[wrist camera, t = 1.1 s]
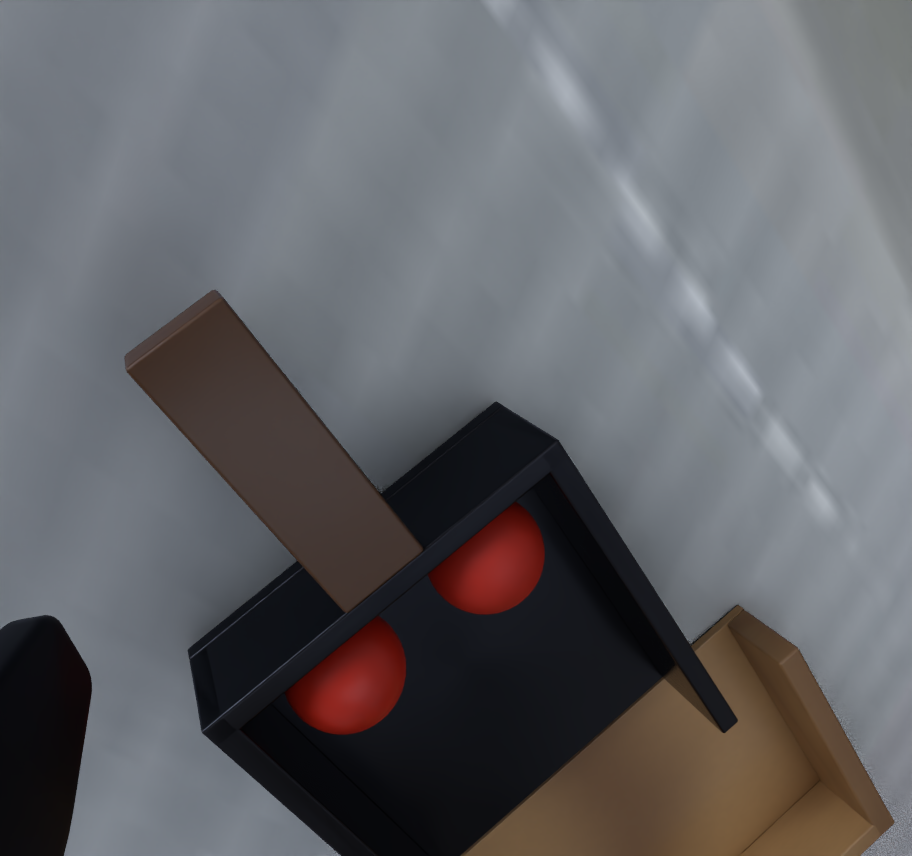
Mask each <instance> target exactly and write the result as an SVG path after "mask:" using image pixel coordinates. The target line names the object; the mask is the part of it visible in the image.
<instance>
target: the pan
mask: <svg viewBox="0 0 912 856" xmlns="http://www.w3.org/2000/svg"><path fill="white" fill-rule="evenodd" d="M125 367H126V371H127V373H128V374H129V375H130V376H131V377H132V378H133V379H134V381H135V382H136V383H137V384H138V385H139V386H140V387H141V388H142V389H143V391H144V392H145V393H146V394H147V395H148V396H149V397H150V398H151V399H152V400H153V402H154V403H155V404H156V405H157V406H158V407H159V408H160V409H161V410H162V412H163V413H164V414H165V415H166V416H167V417H168V418H169V419H170V420H171V421H172V423H173V424H174V425H175V426H176V427H177V428H178V429H179V430H180V431H181V432H182V434H183V435H184V436H185V437H186V438H187V439H188V440H189V441H190V442H191V444H192V445H193V446H194V447H195V448H196V449H197V450H198V451H199V452H200V453H201V455H202V456H203V457H204V458H205V459H206V460H207V461H208V462H209V463H210V465H211V466H212V467H213V468H214V469H215V470H216V471H217V472H218V473H219V474H220V476H221V477H222V478H223V479H224V480H225V481H226V482H227V483H228V484H229V486H230V487H231V488H232V489H233V490H234V491H235V492H236V493H237V494H238V495H239V497H240V498H241V499H242V500H243V501H244V502H245V503H246V504H247V505H248V506H249V508H250V509H251V510H252V511H253V512H254V513H255V514H256V515H257V516H258V518H259V519H260V520H261V521H262V522H263V523H264V524H265V525H266V526H267V527H268V529H269V530H270V531H271V532H272V533H273V534H274V535H275V536H276V537H277V539H278V540H279V541H280V542H281V543H282V544H283V545H284V546H285V547H286V548H287V550H288V551H289V552H290V553H291V554H292V555H293V556H294V557H295V558H296V560H297V562H296V563H294V564H293V565H292V566H291V567H289V568H288V569H287V570H286V571H284V572H283V573H282V574H281V575H280V576H278V577H277V578H276V579H275V580H273V581H272V582H271V583H270V584H268V585H267V586H266V587H265V588H263V589H262V590H261V591H260V592H258V593H257V594H256V595H255V596H253V597H252V598H251V599H250V600H248V601H247V602H246V603H245V604H243V605H242V606H241V607H240V608H239V609H237V610H236V611H235V612H234V613H232V614H231V615H230V616H229V617H227V618H226V619H225V620H224V621H222V622H221V623H220V624H219V625H217V626H216V627H215V628H214V629H212V630H211V631H210V632H209V633H207V634H206V635H205V636H204V637H203V638H201V639H200V640H199V641H198V642H196V643H195V644H194V645H193V646H191V647H190V648H189V649H188V654H189V659H190V666H191V672H192V678H193V683H194V689H195V695H196V701H197V707H198V713H199V719H200V725H201V730H202V733H203V734H204V735H205V736H206V737H208V738H209V739H210V740H211V741H212V742H213V743H214V744H215V745H217V746H218V747H219V748H220V749H221V750H222V751H223V752H224V753H226V754H227V755H228V756H229V757H230V758H231V759H232V760H234V761H235V762H236V763H237V764H238V765H239V766H240V767H241V768H243V769H244V770H245V771H246V772H247V773H248V774H249V775H250V776H252V777H253V778H254V779H255V780H256V781H257V782H258V783H260V784H261V785H262V786H263V787H264V788H265V789H266V790H267V791H269V792H270V793H271V794H272V795H273V796H274V797H275V798H276V799H278V800H279V801H280V802H281V803H282V804H283V805H284V806H286V807H287V808H288V809H289V810H290V811H291V812H292V813H293V814H295V815H296V816H297V817H298V818H299V819H300V820H301V821H302V822H304V823H305V824H306V825H307V826H308V827H309V828H310V829H311V830H313V831H314V832H315V833H316V834H317V835H318V836H319V837H321V838H322V839H323V840H324V841H325V842H326V843H327V844H328V845H330V846H331V847H332V848H333V849H334V850H335V851H336V852H337V853H339V854H340V855H341V856H461V855H462V854H463V853H464V852H465V851H466V850H468V849H469V848H470V847H471V846H472V845H473V844H474V843H475V842H477V841H478V840H479V839H480V838H481V837H482V836H483V835H485V834H486V833H487V832H488V831H489V830H490V829H491V828H492V827H494V826H495V825H496V824H497V823H498V822H499V821H500V820H502V819H503V818H504V817H505V816H506V815H507V814H508V813H509V812H511V811H512V810H513V809H514V808H515V807H516V806H517V805H519V804H520V803H521V802H522V801H523V800H524V799H525V798H526V797H528V796H529V795H530V794H531V793H532V792H533V791H534V790H536V789H537V788H538V787H539V786H540V785H541V784H542V783H543V782H545V781H546V780H547V779H548V778H549V777H550V776H551V775H553V774H554V773H555V772H556V771H557V770H558V769H559V768H560V767H562V766H563V765H564V764H565V763H566V762H567V761H568V760H570V759H571V758H572V757H573V756H574V755H575V754H576V753H577V752H579V751H580V750H581V749H582V748H583V747H584V746H585V745H587V744H588V743H589V742H590V741H591V740H592V739H593V738H594V737H596V736H597V735H598V734H599V733H600V732H601V731H602V730H604V729H605V728H606V727H607V726H608V725H609V724H610V723H611V722H613V721H614V720H615V719H616V718H617V717H618V716H619V715H621V714H622V713H623V712H624V711H625V710H626V709H627V708H628V707H630V706H631V705H632V704H633V703H634V702H635V701H636V700H638V699H639V698H640V697H641V696H642V695H643V694H644V693H645V692H647V691H648V690H649V689H650V688H651V687H652V686H653V685H654V684H656V683H657V682H658V681H659V680H660V679H661V678H662V677H663V678H664V679H665V680H666V681H667V682H668V683H669V684H670V685H671V686H672V687H674V688H675V689H676V690H677V691H678V692H679V693H680V694H681V695H682V696H683V697H684V698H685V699H686V700H688V701H689V702H690V703H691V704H692V705H693V706H694V707H695V708H696V709H697V710H698V711H699V712H700V713H701V714H703V715H704V716H705V717H706V718H707V719H708V720H709V721H710V722H711V723H712V724H713V725H714V726H715V727H717V728H718V729H719V730H720V731H721V732H722V733H726V732H727V731H728V730H729V729H730V728H731V727H733V726H734V725H735V724H736V723H737V722H738V719H737V717H736V715H735V714H734V712H733V711H732V709H731V708H730V706H729V704H728V703H727V701H726V700H725V698H724V697H723V695H722V694H721V692H720V690H719V689H718V687H717V686H716V684H715V683H714V681H713V680H712V678H711V676H710V675H709V673H708V672H707V670H706V669H705V667H704V666H703V664H702V662H701V661H700V659H699V658H698V656H697V655H696V653H695V652H694V650H693V648H692V647H691V645H690V644H689V642H688V641H687V639H686V638H685V636H684V634H683V633H682V631H681V630H680V628H679V627H678V625H677V624H676V622H675V621H674V619H673V617H672V616H671V614H670V613H669V611H668V610H667V608H666V607H665V605H664V603H663V602H662V600H661V599H660V597H659V596H658V594H657V593H656V591H655V589H654V588H653V586H652V585H651V583H650V582H649V580H648V579H647V577H646V575H645V574H644V572H643V571H642V569H641V568H640V566H639V565H638V563H637V561H636V560H635V558H634V557H633V555H632V554H631V552H630V551H629V549H628V547H627V546H626V544H625V543H624V541H623V540H622V538H621V537H620V535H619V533H618V532H617V530H616V529H615V527H614V526H613V524H612V523H611V521H610V519H609V518H608V516H607V515H606V513H605V512H604V510H603V509H602V507H601V505H600V504H599V502H598V501H597V499H596V498H595V496H594V495H593V493H592V491H591V490H590V488H589V487H588V485H587V484H586V482H585V481H584V479H583V477H582V476H581V474H580V473H579V471H578V470H577V468H576V467H575V465H574V463H573V462H572V460H571V459H570V457H569V456H568V454H567V453H566V451H565V449H564V448H563V446H562V445H561V443H560V442H559V440H557V439H556V438H554V437H553V436H551V435H549V434H548V433H546V432H545V431H543V430H541V429H540V428H538V427H536V426H535V425H533V424H532V423H530V422H528V421H527V420H525V419H524V418H522V417H520V416H519V415H517V414H516V413H514V412H512V411H511V410H509V409H508V408H506V407H504V406H503V405H501V404H500V403H498V402H494V403H493V404H492V405H491V406H489V407H488V408H487V409H486V410H484V411H483V412H482V413H481V414H479V415H478V416H477V417H476V418H475V419H473V420H472V421H471V422H470V423H468V424H467V425H466V426H465V427H463V428H462V429H461V430H460V431H458V432H457V433H456V434H455V435H453V436H452V437H451V438H450V439H448V440H447V441H446V442H445V443H443V444H442V445H441V446H440V447H438V448H437V449H436V450H435V451H434V452H432V453H431V454H430V455H429V456H427V457H426V458H425V459H424V460H422V461H421V462H420V463H419V464H417V465H416V466H415V467H414V468H412V469H411V470H410V471H409V472H407V473H406V474H405V475H404V476H402V477H401V478H400V479H399V480H398V481H396V482H395V483H394V484H393V485H391V486H390V487H389V488H388V489H386V490H385V491H384V492H383V493H381V494H380V493H379V492H378V490H377V489H376V488H375V487H374V485H373V484H372V483H371V482H370V480H369V479H368V478H367V477H366V475H365V474H364V473H363V472H362V470H361V469H360V468H359V467H358V465H357V464H356V463H355V462H354V460H353V459H352V458H351V457H350V455H349V454H348V453H347V452H346V450H345V449H344V448H343V447H342V445H341V444H340V443H339V442H338V440H337V439H336V438H335V437H334V435H333V434H332V433H331V432H330V430H329V429H328V428H327V427H326V425H325V424H324V423H323V422H322V420H321V419H320V418H319V417H318V415H317V414H316V413H315V412H314V410H313V409H312V408H311V407H310V405H309V404H308V403H307V402H306V400H305V399H304V398H303V397H302V395H301V394H300V393H299V392H298V390H297V389H296V388H295V387H294V385H293V384H292V383H291V382H290V380H289V379H288V378H287V377H286V375H285V374H284V373H283V372H282V370H281V369H280V368H279V367H278V365H277V364H276V363H275V362H274V360H273V359H272V358H271V357H270V355H269V354H268V353H267V352H266V350H265V349H264V348H263V347H262V345H261V344H260V343H259V342H258V340H257V339H256V338H255V337H254V335H253V334H252V333H251V332H250V330H249V329H248V328H247V327H246V325H245V324H244V323H243V322H242V320H241V319H240V318H239V317H238V315H237V314H236V313H235V312H234V310H233V309H232V308H231V307H230V305H229V304H228V303H227V302H226V300H225V299H224V298H223V297H222V296H221V294H220V293H219V292H218V291H216V290H212V291H210V292H209V293H208V294H206V295H205V296H204V297H202V298H201V299H200V300H198V301H197V302H196V303H194V304H193V305H192V306H190V307H189V308H188V309H186V310H185V311H183V312H182V313H181V314H179V315H178V316H177V317H175V318H174V319H173V320H171V321H170V322H169V323H167V324H166V325H165V326H163V327H162V328H161V329H159V330H158V331H157V332H155V333H154V334H153V335H151V336H150V337H149V338H147V339H146V340H145V341H143V342H142V343H141V344H139V345H138V346H137V347H135V348H134V349H133V350H131V351H130V352H129V353H127V354H126V355H125ZM515 502H517V503H519V504H520V505H521V506H522V507H524V508H525V509H526V510H527V511H528V512H529V513H530V514H531V516H532V517H533V518H534V520H535V521H536V523H537V525H538V527H539V529H540V531H541V534H542V537H543V542H544V550H545V557H544V566H543V570H542V573H541V576H540V579H539V581H538V583H537V585H536V586H535V588H534V589H533V591H532V592H531V593H530V594H529V595H528V596H527V597H526V598H525V599H524V600H523V601H522V602H521V603H519V604H518V605H516V606H515V607H513V608H511V609H509V610H506V611H504V612H500V613H496V614H488V615H480V614H473V613H469V612H466V611H463V610H461V609H458V608H456V607H454V606H453V605H451V604H450V603H448V602H447V601H446V600H445V599H444V598H443V597H442V596H441V595H440V594H439V593H438V592H437V591H436V589H435V588H434V587H433V585H432V583H431V581H430V579H429V577H428V574H429V573H430V572H431V571H432V570H434V569H435V568H436V567H437V566H438V565H440V564H441V563H442V562H443V561H444V560H446V559H447V558H448V557H449V556H451V555H452V554H453V553H454V552H455V551H457V550H458V549H459V548H460V547H461V546H463V545H464V544H465V543H466V542H467V541H469V540H470V539H471V538H472V537H474V536H475V535H476V534H477V533H478V532H480V531H481V530H482V529H483V528H484V527H486V526H487V525H488V524H489V523H490V522H492V521H493V520H494V519H495V518H497V517H498V516H499V515H500V514H501V513H503V512H504V511H505V510H506V509H507V508H509V507H510V506H511V505H512V504H513V503H515ZM377 616H380V617H381V618H383V619H384V620H385V621H386V622H387V623H388V624H389V625H390V626H391V627H392V628H393V630H394V631H395V633H396V634H397V635H398V637H399V639H400V641H401V644H402V646H403V649H404V653H405V658H406V678H405V683H404V687H403V690H402V693H401V695H400V697H399V699H398V701H397V703H396V704H395V706H394V707H393V709H392V710H391V711H390V712H389V714H388V715H387V716H386V717H385V718H384V719H383V720H381V721H380V722H379V723H377V724H376V725H374V726H372V727H371V728H369V729H366V730H364V731H361V732H358V733H354V734H347V735H337V734H330V733H325V732H322V731H320V730H317V729H315V728H313V727H312V726H310V725H308V724H307V723H305V722H304V721H303V720H302V719H301V718H300V717H299V716H298V715H297V714H296V713H295V711H294V710H293V709H292V707H291V706H290V704H289V702H288V701H287V698H286V696H285V692H286V691H287V690H288V689H290V688H291V687H292V686H293V685H294V684H296V683H297V682H298V681H299V680H300V679H302V678H303V677H304V676H305V675H307V674H308V673H309V672H310V671H311V670H313V669H314V668H315V667H316V666H317V665H319V664H320V663H321V662H322V661H323V660H325V659H326V658H327V657H328V656H330V655H331V654H332V653H333V652H334V651H336V650H337V649H338V648H339V647H340V646H342V645H343V644H344V643H345V642H346V641H348V640H349V639H350V638H351V637H353V636H354V635H355V634H356V633H357V632H359V631H360V630H361V629H362V628H363V627H365V626H366V625H367V624H368V623H369V622H371V621H372V620H373V619H374V618H376V617H377Z"/></svg>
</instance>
